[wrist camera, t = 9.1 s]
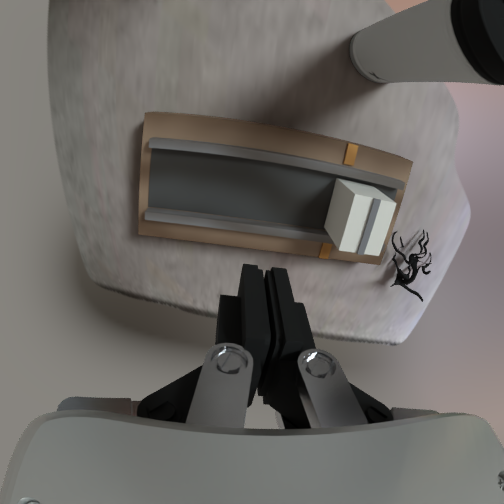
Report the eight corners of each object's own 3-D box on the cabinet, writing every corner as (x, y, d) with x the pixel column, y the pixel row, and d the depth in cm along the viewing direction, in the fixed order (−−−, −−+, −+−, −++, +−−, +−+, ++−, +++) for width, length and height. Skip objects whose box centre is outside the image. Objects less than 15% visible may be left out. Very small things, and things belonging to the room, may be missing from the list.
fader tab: (336, 178, 27) (356, 194, 22) (373, 186, 27) (397, 204, 23) (323, 226, 29) (339, 251, 25) (359, 232, 30) (379, 257, 25)
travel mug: (367, 94, 26) (519, 110, 8) (337, 38, 23) (468, -22, 6) (412, 76, 25) (565, 86, 7) (385, 22, 22) (526, -20, 4)
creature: (397, 214, 34) (368, 272, 35) (423, 223, 29) (391, 288, 30) (434, 239, 36) (408, 292, 37) (460, 250, 31) (431, 308, 32)
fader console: (153, 111, 26) (140, 113, 23) (399, 156, 29) (418, 164, 26) (146, 223, 32) (134, 239, 28) (370, 252, 35) (383, 270, 31)
